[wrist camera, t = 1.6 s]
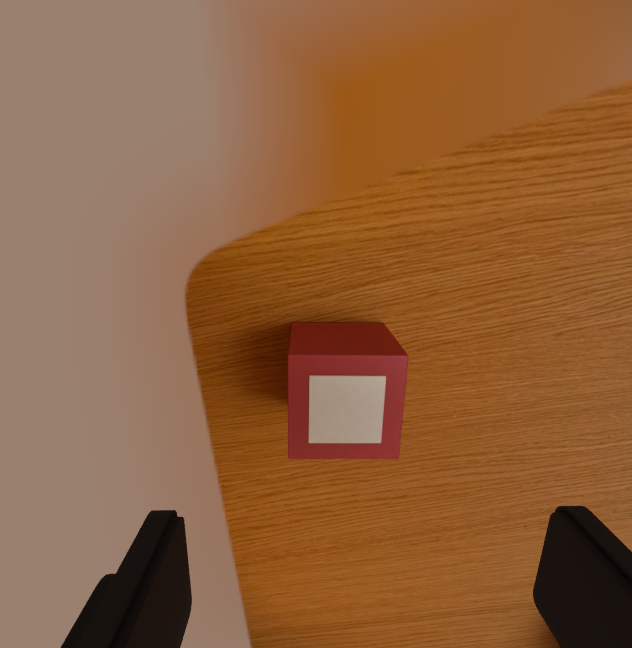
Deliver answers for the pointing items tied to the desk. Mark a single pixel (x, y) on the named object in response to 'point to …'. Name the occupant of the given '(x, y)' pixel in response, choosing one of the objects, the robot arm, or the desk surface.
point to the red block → (345, 391)
